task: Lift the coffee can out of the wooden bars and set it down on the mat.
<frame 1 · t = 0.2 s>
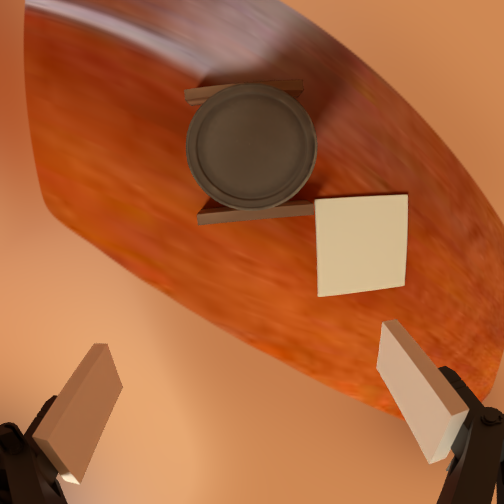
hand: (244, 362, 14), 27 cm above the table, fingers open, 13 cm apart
mat: (363, 244, 41), on the table
wooden bars: (249, 151, 37), on the table
coffee can: (249, 151, 37), on the table
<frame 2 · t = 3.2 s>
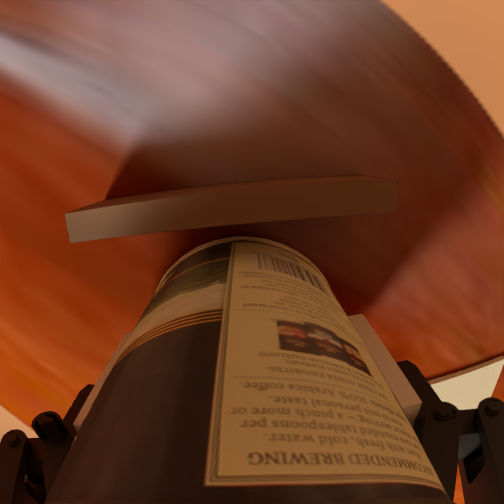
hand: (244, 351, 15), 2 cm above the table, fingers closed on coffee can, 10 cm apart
mat: (424, 432, 21), on the table
wooden bars: (244, 328, 17), on the table
coffee can: (244, 326, 17), on the table, touching gripper
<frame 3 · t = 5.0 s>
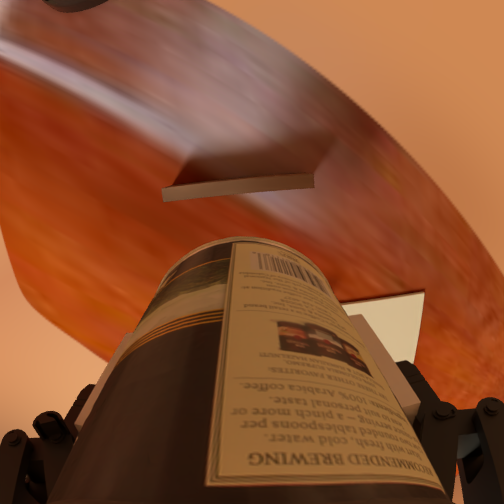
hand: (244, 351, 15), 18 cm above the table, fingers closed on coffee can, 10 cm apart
mat: (370, 346, 36), on the table
wooden bars: (245, 254, 32), on the table
coffee can: (245, 326, 17), point 15 cm above the table, touching gripper
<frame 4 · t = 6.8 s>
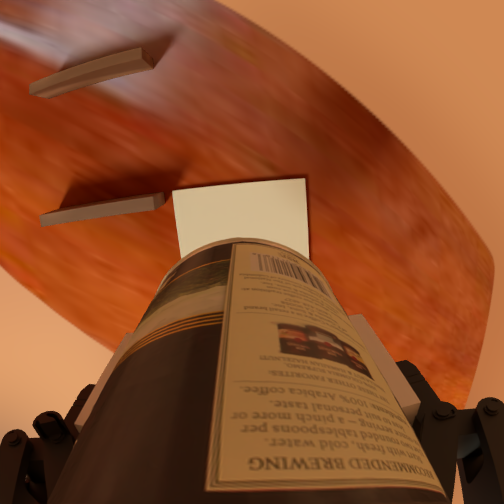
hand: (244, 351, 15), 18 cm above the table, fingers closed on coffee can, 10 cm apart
mat: (244, 247, 33), on the table
wooden bars: (99, 140, 29), on the table
coffee can: (245, 327, 17), point 16 cm above the table, touching gripper
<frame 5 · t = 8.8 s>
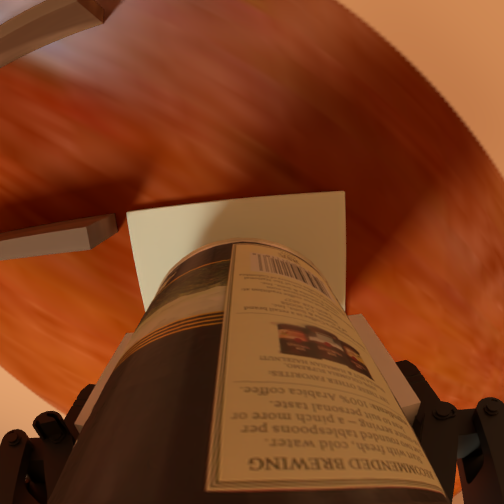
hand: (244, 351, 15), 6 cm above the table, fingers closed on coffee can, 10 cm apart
mat: (244, 301, 20), on the table
wooden bars: (26, 135, 17), on the table
coffee can: (245, 327, 17), point 3 cm above the table, touching gripper
when the fingers open (4 cm above the table, at t = 10.2 s): coffee can drops 1 cm, resting on mat.
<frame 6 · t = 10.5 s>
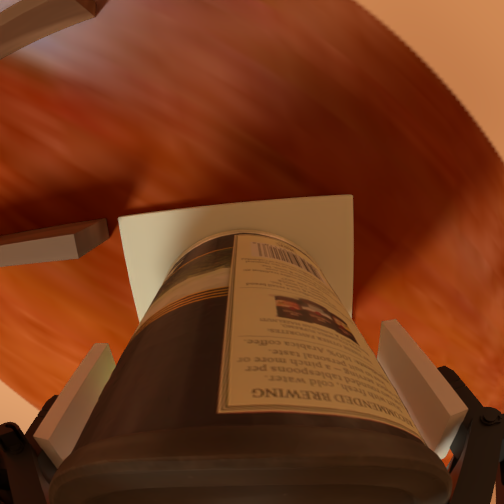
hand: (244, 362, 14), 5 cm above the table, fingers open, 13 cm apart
mat: (244, 311, 19), on the table
wooden bars: (14, 135, 15), on the table
coffee can: (246, 313, 19), resting on mat
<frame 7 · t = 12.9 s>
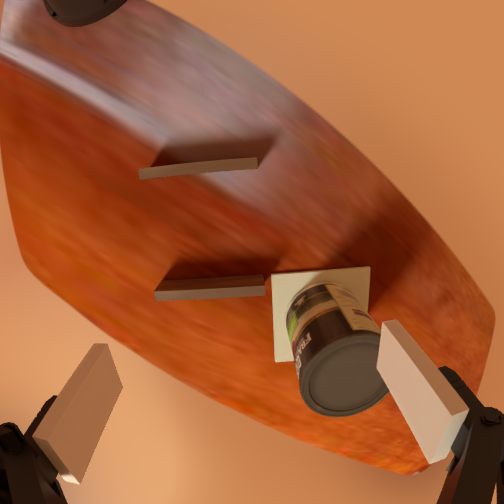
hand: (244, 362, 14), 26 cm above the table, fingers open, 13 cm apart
mat: (321, 315, 42), on the table
wooden bars: (206, 226, 38), on the table
coffee can: (322, 316, 41), resting on mat
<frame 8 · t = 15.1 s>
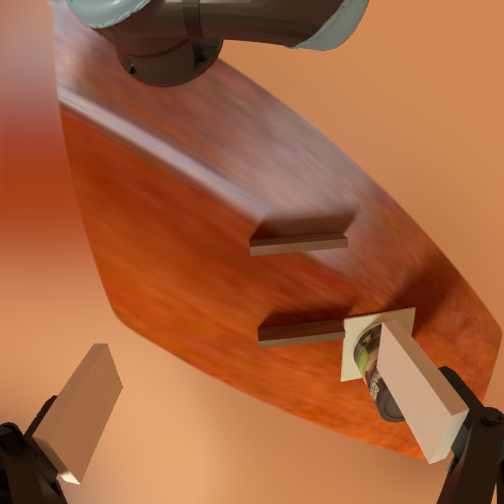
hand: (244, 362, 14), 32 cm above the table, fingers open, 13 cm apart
mat: (377, 345, 51), on the table
wooden bars: (297, 285, 47), on the table
coffee can: (378, 345, 51), resting on mat
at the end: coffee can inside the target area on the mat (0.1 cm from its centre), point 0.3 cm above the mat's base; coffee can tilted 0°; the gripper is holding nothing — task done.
